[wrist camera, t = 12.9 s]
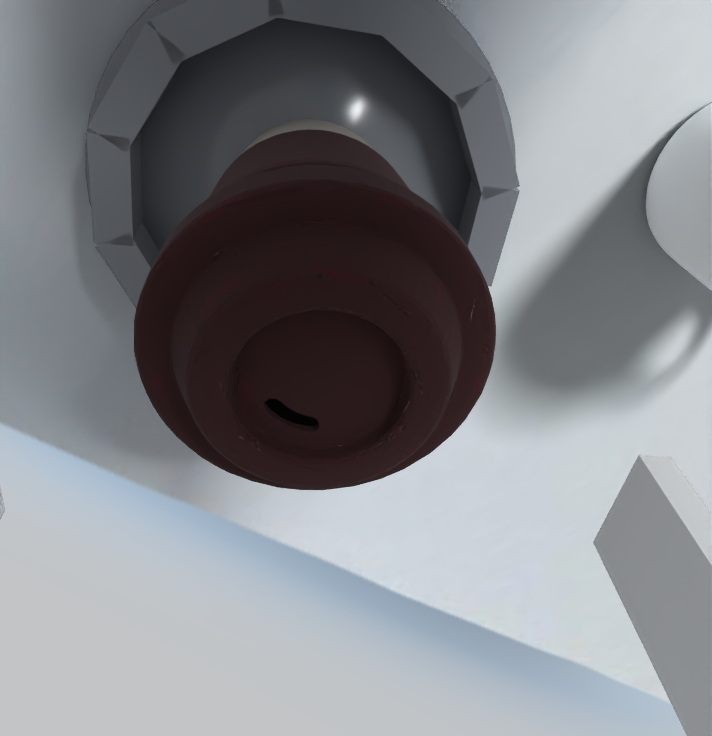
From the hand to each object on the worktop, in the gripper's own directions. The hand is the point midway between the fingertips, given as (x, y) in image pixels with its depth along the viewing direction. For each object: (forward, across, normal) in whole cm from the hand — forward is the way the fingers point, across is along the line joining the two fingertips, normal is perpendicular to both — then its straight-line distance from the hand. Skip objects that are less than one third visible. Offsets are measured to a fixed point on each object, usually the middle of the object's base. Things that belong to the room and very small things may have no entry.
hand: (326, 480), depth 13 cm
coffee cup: (+19, 0, 0) cm, 19 cm away
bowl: (+19, 0, 0) cm, 19 cm away
